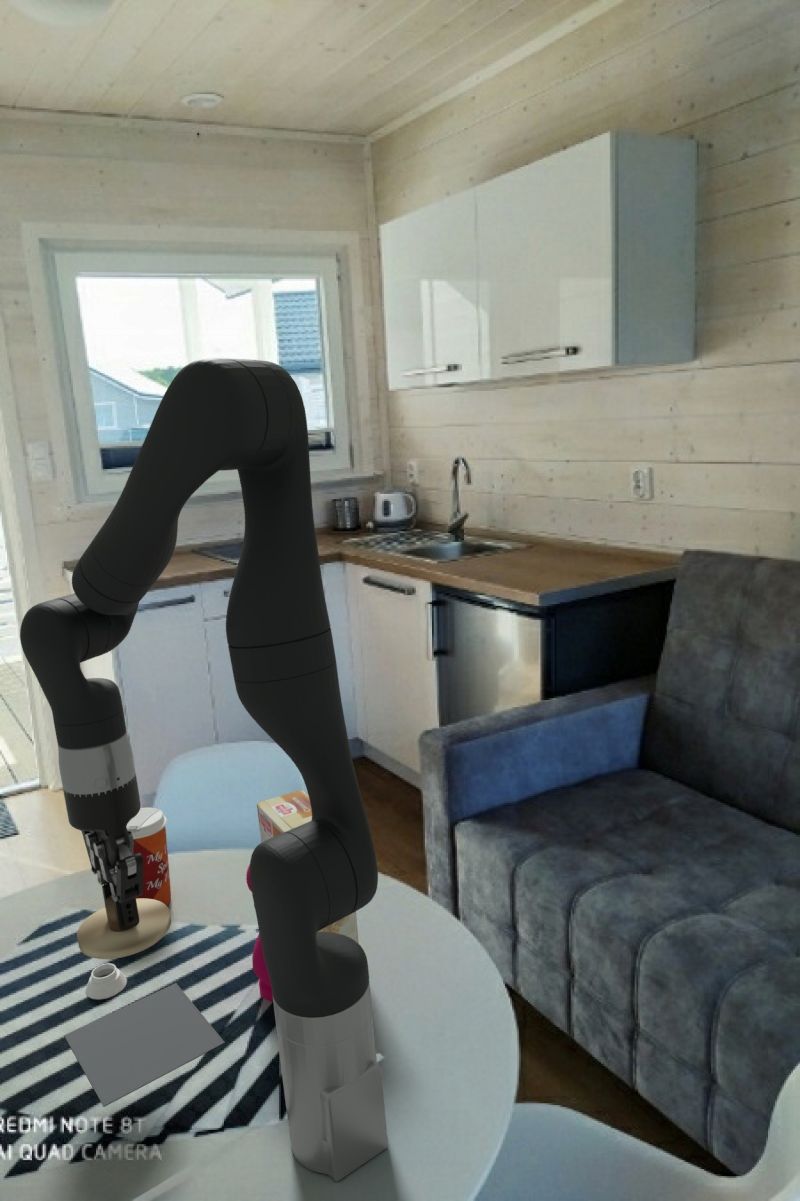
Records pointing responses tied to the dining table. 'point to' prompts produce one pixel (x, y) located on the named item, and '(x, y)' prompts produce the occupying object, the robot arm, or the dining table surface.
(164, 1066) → the mat
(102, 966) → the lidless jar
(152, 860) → the paper cup
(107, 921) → the lid
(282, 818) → the coffeecake box
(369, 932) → the dining table surface
